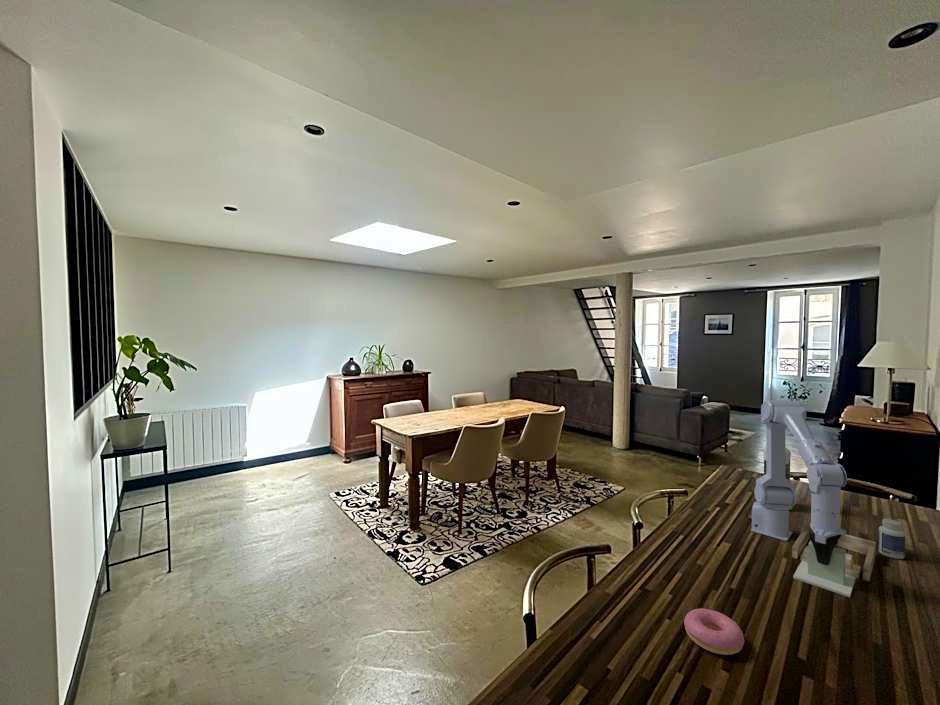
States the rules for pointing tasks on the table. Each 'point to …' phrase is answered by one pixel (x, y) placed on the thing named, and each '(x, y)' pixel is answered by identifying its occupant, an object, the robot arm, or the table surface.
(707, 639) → the doughnut
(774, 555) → the table surface
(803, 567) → the grey pad
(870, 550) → the rack
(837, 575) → the green panel
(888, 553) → the pill bottle
